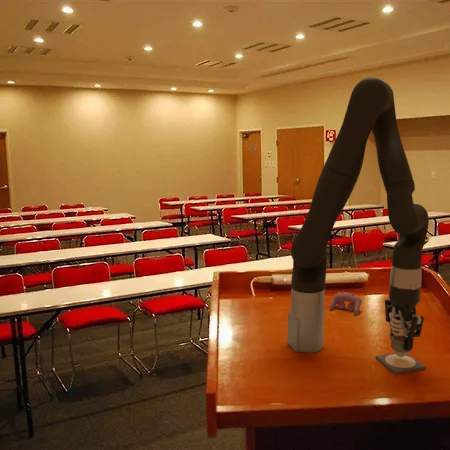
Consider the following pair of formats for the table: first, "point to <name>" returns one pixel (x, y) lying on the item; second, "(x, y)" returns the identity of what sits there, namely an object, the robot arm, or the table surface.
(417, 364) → the pad
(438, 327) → the table surface
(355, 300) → the video game controller
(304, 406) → the table surface
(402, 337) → the light bulb
